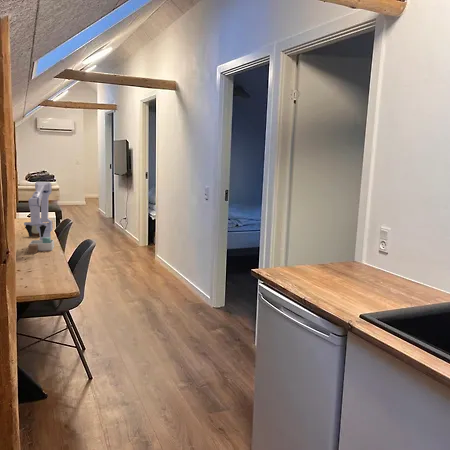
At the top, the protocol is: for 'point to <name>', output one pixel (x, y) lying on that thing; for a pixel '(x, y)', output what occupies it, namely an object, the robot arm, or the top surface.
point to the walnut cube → (33, 248)
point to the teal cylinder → (46, 240)
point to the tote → (43, 245)
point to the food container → (35, 231)
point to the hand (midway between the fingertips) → (36, 236)
